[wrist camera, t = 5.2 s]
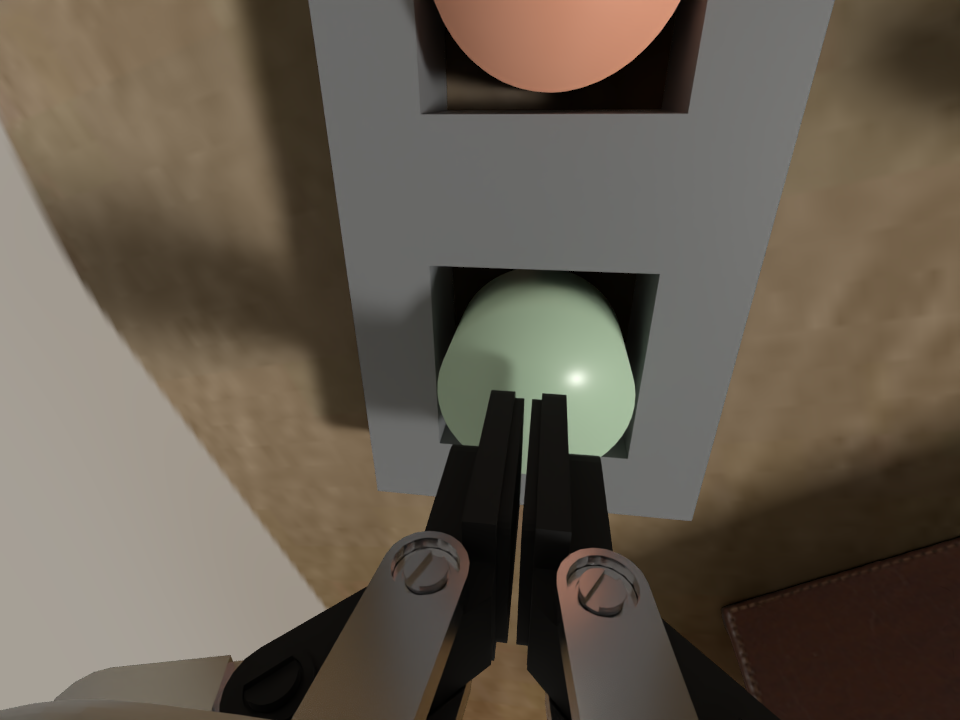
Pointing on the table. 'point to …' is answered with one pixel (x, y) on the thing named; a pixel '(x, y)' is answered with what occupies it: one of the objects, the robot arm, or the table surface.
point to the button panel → (563, 218)
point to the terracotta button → (554, 37)
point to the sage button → (540, 358)
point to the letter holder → (857, 641)
